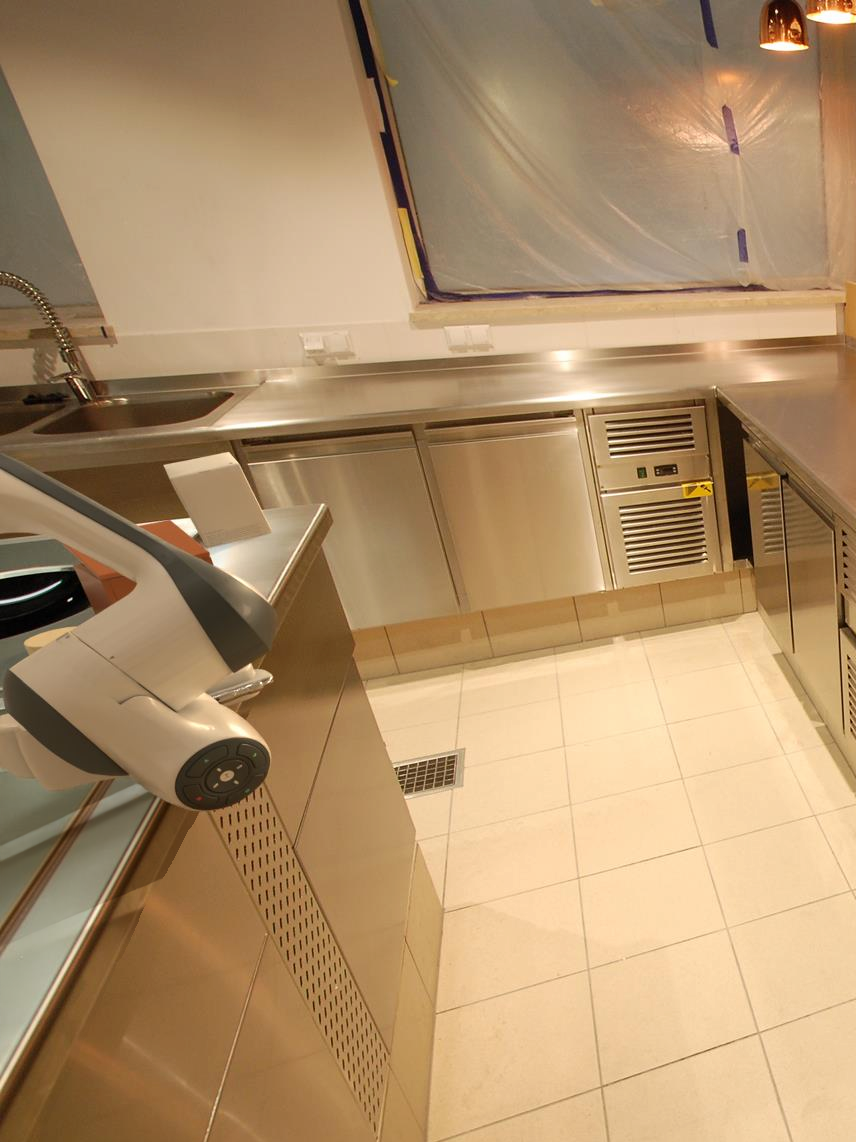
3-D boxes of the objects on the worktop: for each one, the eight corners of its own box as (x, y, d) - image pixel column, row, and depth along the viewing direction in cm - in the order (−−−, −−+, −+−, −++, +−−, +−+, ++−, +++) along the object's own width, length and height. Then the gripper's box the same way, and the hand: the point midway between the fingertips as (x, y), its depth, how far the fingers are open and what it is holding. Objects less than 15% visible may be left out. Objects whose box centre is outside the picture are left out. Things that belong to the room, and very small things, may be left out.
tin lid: (62, 545, 110) (60, 540, 109) (171, 524, 119) (170, 519, 118) (100, 580, 106) (98, 575, 105) (210, 556, 114) (209, 551, 114)
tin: (99, 624, 114) (72, 564, 111) (201, 598, 123) (180, 542, 119) (128, 643, 109) (101, 581, 106) (232, 614, 118) (210, 556, 114)
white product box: (270, 532, 147) (231, 450, 139) (281, 548, 141) (240, 462, 133) (206, 548, 141) (161, 463, 133) (214, 565, 136) (168, 477, 128)
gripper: (271, 653, 87) (214, 622, 93) (-9, 741, 71) (-53, 696, 78) (290, 706, 90) (234, 672, 96) (24, 801, 74) (-21, 753, 80)
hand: (103, 683), depth 87 cm, fingers open, 8 cm apart
